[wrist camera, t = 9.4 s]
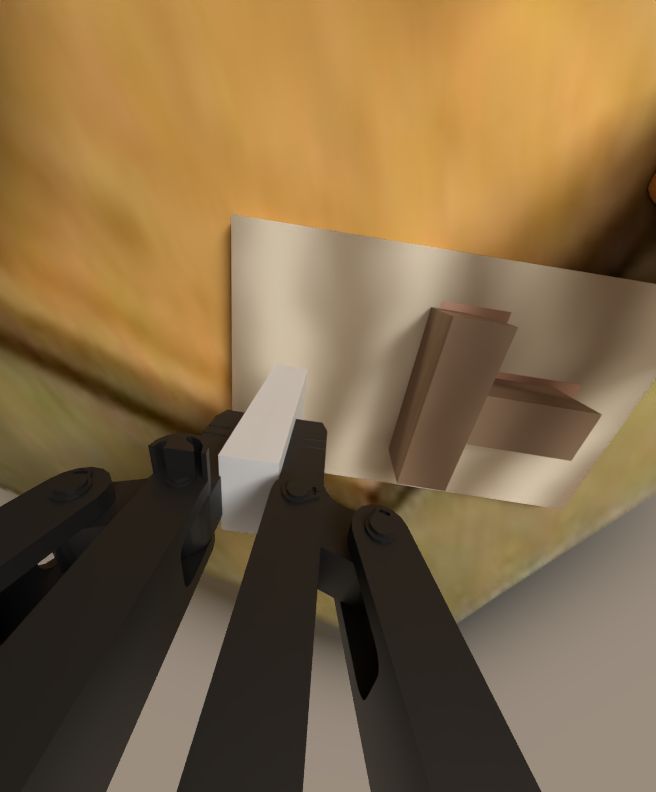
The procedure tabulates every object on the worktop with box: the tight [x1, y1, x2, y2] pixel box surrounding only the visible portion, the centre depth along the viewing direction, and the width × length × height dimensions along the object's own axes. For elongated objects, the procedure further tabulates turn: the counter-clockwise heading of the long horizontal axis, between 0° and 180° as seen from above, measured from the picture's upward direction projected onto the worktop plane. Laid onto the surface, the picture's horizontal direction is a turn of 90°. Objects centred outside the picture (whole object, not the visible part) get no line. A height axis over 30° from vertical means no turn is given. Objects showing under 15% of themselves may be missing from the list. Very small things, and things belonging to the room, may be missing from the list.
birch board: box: [231, 214, 656, 509], centre depth 18 cm, size 26×16×1 cm, turn 82°
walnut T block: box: [388, 307, 602, 491], centre depth 16 cm, size 9×10×4 cm
